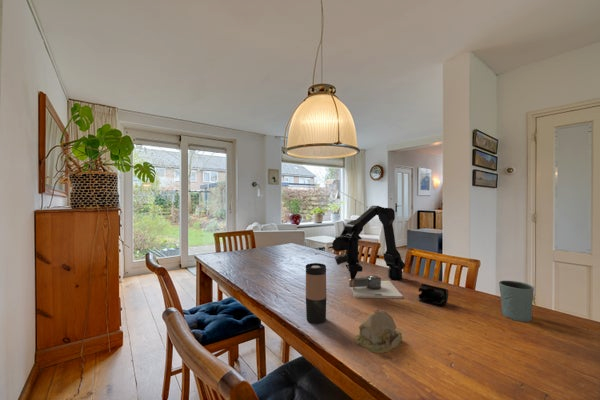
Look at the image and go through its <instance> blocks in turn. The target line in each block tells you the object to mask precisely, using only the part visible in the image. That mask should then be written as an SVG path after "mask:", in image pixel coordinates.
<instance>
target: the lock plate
mask: <svg viewBox="0 0 600 400" xmlns="http://www.w3.org/2000/svg"><path fill="white" fill-rule="evenodd" d="M350 288H351V291H352V295H353V297H354V299H355V298H359V299H361V298H362V299H404V298H403V297H404V296H403V294H402V293H401V292H400V291H399V290H398V289H397V288H396V287H395V286H394V284H393V283H392V282H391V281H390V280H381V288H380V289H376V290H375V289H369V288H367V287H366V286H364V287H350Z"/></svg>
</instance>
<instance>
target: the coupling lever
mask: <svg viewBox="0 0 600 400" xmlns="http://www.w3.org/2000/svg"><path fill="white" fill-rule="evenodd" d="M381 281H382V278H381V277H380V276H378V275H376V274H369V275H367V276H366V277H355V278H350V277H349V278H348V286H349V288H351V287H364V286H366V287H367V288H369V289H375V290H376V289H380V288H381Z"/></svg>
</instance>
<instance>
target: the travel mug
mask: <svg viewBox="0 0 600 400" xmlns="http://www.w3.org/2000/svg"><path fill="white" fill-rule="evenodd" d="M305 309H306V310H305V313H306V320H307V322H308V323H309V324H312V325H320V324H321V325H322V324H324V323H325V322H326V320H327V266H326V264H324V263H319V262H313V263H308V264H306V265H305Z"/></svg>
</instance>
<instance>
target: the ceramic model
mask: <svg viewBox="0 0 600 400" xmlns="http://www.w3.org/2000/svg"><path fill="white" fill-rule="evenodd" d="M358 328H359V333H358V334H356V337H355V338H354V343H355V344H356V345H358V346H360V347H362V348H364V349H366V350H367V351H369V352H371V353H376V354H377V353H378V354H385V353H384V352H386V353H388V352H391V350H394V349H395V348H396V347H398V346H399V345H400V344H401V342H402V340H403V335H402V334H403V333H402V332H401V331H399V330H397V325H396V323H395V321H394V318H393V316H392V315H391V314H390V313H389V312H388V311H387V310H380V309H375V310H374V313H372V314H370V315H369V316H368V317H367V318H366V319H365V321H363V322H362V323H361V324H360V325H359V326H358ZM393 348H394V349H393Z"/></svg>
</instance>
